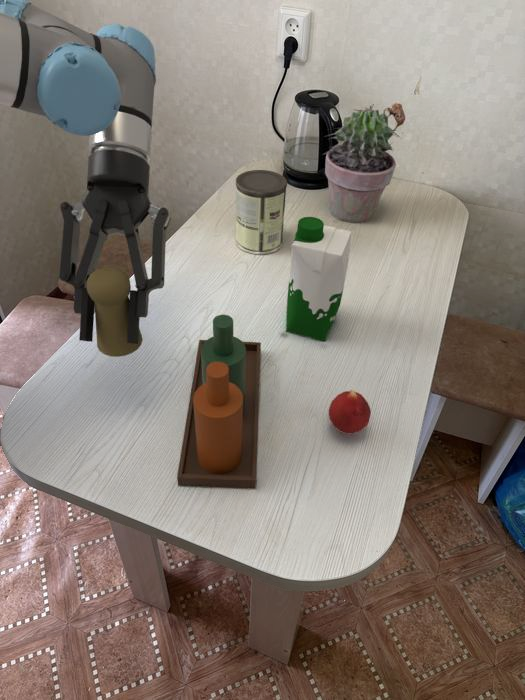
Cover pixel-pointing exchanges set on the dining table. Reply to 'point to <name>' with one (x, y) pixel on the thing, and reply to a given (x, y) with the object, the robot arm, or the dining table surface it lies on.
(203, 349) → the green bottle
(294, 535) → the dining table surface
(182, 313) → the dining table surface
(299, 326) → the milk carton
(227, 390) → the amber bottle
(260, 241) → the coffee can
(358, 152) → the potted plant
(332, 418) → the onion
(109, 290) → the cork
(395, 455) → the dining table surface
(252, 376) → the tray
